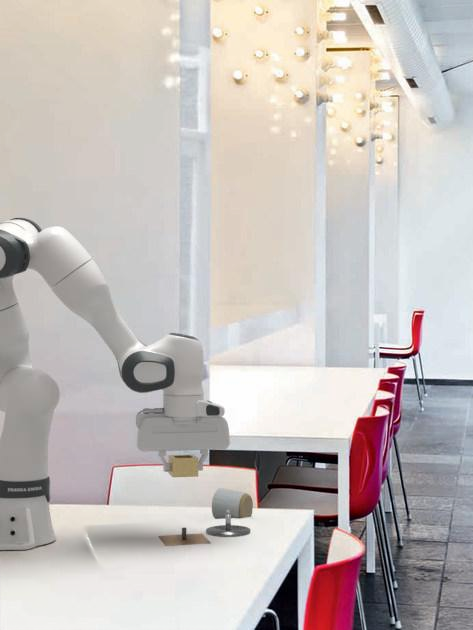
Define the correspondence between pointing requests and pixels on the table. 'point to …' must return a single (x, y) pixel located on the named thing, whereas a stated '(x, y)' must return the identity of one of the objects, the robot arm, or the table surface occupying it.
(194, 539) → the stand
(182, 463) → the collar
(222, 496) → the grey cylinder tan end
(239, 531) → the stand
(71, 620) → the table surface
